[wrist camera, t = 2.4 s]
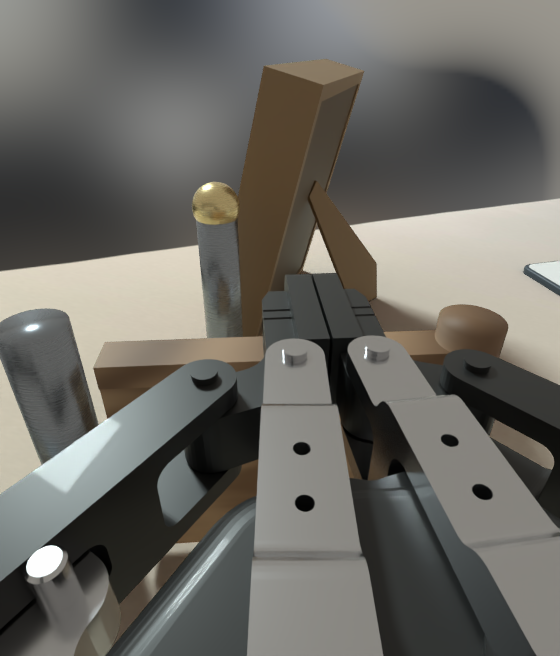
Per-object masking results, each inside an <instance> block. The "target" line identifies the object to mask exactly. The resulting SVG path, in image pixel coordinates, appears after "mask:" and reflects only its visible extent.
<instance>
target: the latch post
mask: <svg viewBox="0 0 560 656" xmlns="http://www.w3.org/2000/svg"><path fill="white" fill-rule="evenodd" d="M192 210H193V214H194V216H195V218H196V224H197V234H198V245H199V256H200V267H201V277H202V288H203V299H204V309H205V320H206V331H207V338H230V337H243V328H242V305H241V283H240V260H239V238H238V215H239V212H240V203H239V199H238V197H237V195H236V193H235V192H234V191H233V189H232V188H230V187H229V186H227V185H226V184H223V183H220V182H210V183H207V184H205V185H203V186H201V187H200V188H199V189H198V190H197V192H196V193H195V195H194V197H193V201H192Z"/></svg>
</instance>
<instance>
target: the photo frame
mask: <svg viewBox="0 0 560 656" xmlns="http://www.w3.org/2000/svg"><path fill="white" fill-rule="evenodd" d="M363 73H364V71H363V70H359V69H356V68H353V67H350V66H347V65H344V64H340V63H337V62H334V61H331V60H328V59H321V60H312V61H303V62H294V63H286V64H276V65H267V66H264V68H263V73H262V78H261V83H260V89H259V93H258V98H257V103H256V108H255V114H254V119H253V124H252V129H251V134H250V139H249V144H248V149H247V154H246V160H245V165H244V169H243V174H242V180H241V185H240V190H239V195H238V199H239V203H240V212H239V215H238V238H239V260H240V283H241V305H242V328H243V337H258V336H263V330H262V299H263V298H264V297H265V295H266V294H267V293H268V292H269V291H284V282H285V275H291V274H301V272H302V270H303V267H304V264H305V260H306V257H307V254H308V251H309V248H310V244H311V241H312V238H313V235H314V231H315V228H316V225H318V227H319V230H320V233H321V235H322V238H323V240H324V243H325V245H326V248H327V250H328V253H329V256H330V258H331V261H332V263H333V266H334V268H335V271H336V273H337V275H338V277H339V280H340V282H341V284H342V287H343V289H356V290H357V291H359V292H360V293H361V294H363V295H364V296H366V298H367V300H368V301H370V300H372V299H374V298H376V297H377V265H376V262H375V260H374V259H373V258H372V256H371V255H370V254H369V252H368V251H367V249H366V248H365V247H364V245H363V244H362V242H361V241H360V240H359V238H358V237H357V235H356V234H355V233H354V231H353V230H352V229H351V227H350V226H349V224H348V223H347V222H346V221H345V219H344V218H343V216H342V215H341V213H340V212H339V211H338V209H337V208H336V206H335V205H334V204H333V203H332V201H331V200H330V198H329V197H328V195H327V194H326V192H327V190H328V186H329V183H330V180H331V176H332V173H333V170H334V167H335V164H336V161H337V157H338V154H339V151H340V148H341V144H342V141H343V138H344V134H345V131H346V128H347V125H348V122H349V119H350V115H351V112H352V109H353V105H354V102H355V99H356V96H357V93H358V90H359V86H360V83H361V80H362V76H363Z"/></svg>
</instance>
